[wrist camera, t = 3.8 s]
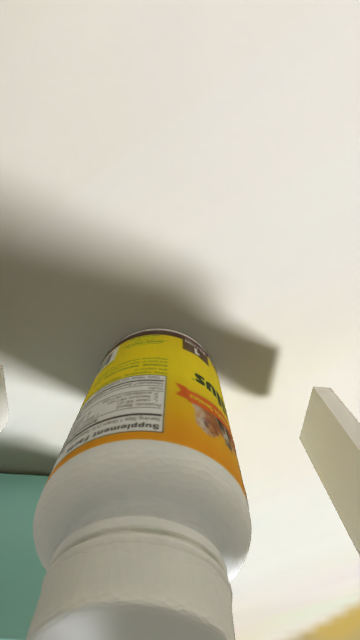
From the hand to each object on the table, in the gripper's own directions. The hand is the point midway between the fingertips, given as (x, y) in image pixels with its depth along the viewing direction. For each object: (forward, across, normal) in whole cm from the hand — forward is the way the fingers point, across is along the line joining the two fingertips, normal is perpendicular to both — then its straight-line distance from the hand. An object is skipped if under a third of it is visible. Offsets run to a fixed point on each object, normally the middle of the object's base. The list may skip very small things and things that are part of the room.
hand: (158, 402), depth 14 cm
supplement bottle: (+2, 0, 0) cm, 2 cm away
